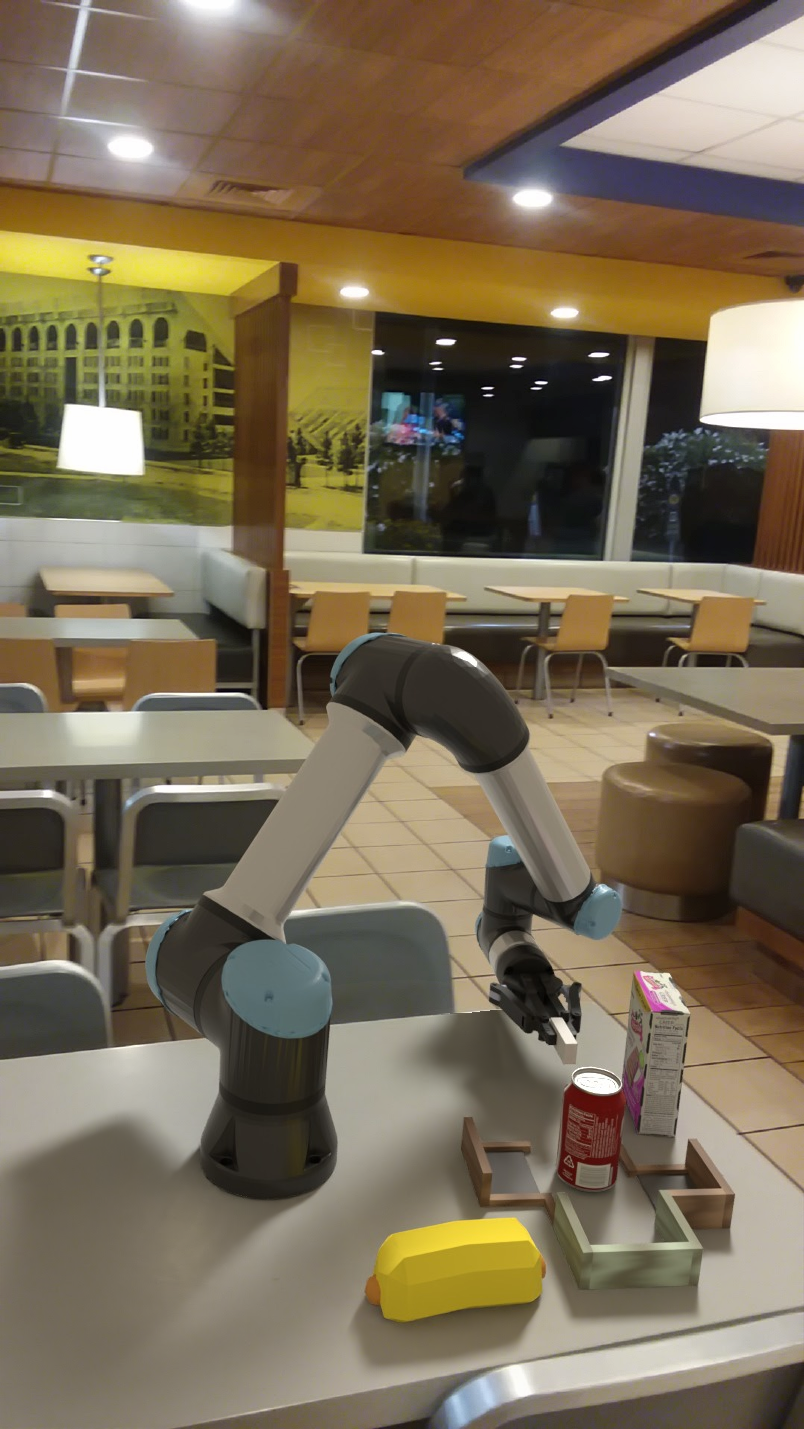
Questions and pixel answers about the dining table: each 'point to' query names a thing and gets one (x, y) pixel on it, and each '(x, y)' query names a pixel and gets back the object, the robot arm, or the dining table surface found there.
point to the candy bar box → (655, 1053)
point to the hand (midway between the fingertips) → (570, 1053)
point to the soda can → (591, 1130)
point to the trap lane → (680, 1206)
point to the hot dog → (455, 1269)
